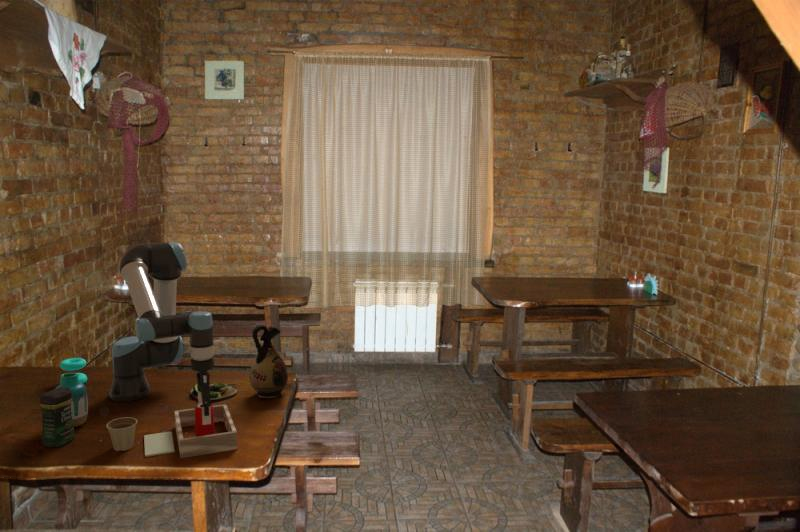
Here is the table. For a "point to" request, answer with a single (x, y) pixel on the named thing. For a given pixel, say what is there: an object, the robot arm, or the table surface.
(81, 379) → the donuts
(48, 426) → the coffee jar
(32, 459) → the table surface
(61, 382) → the vase
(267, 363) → the ceramic jug
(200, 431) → the beverage can
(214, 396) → the salad plate
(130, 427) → the flower pot
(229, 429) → the frame
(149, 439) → the mat
